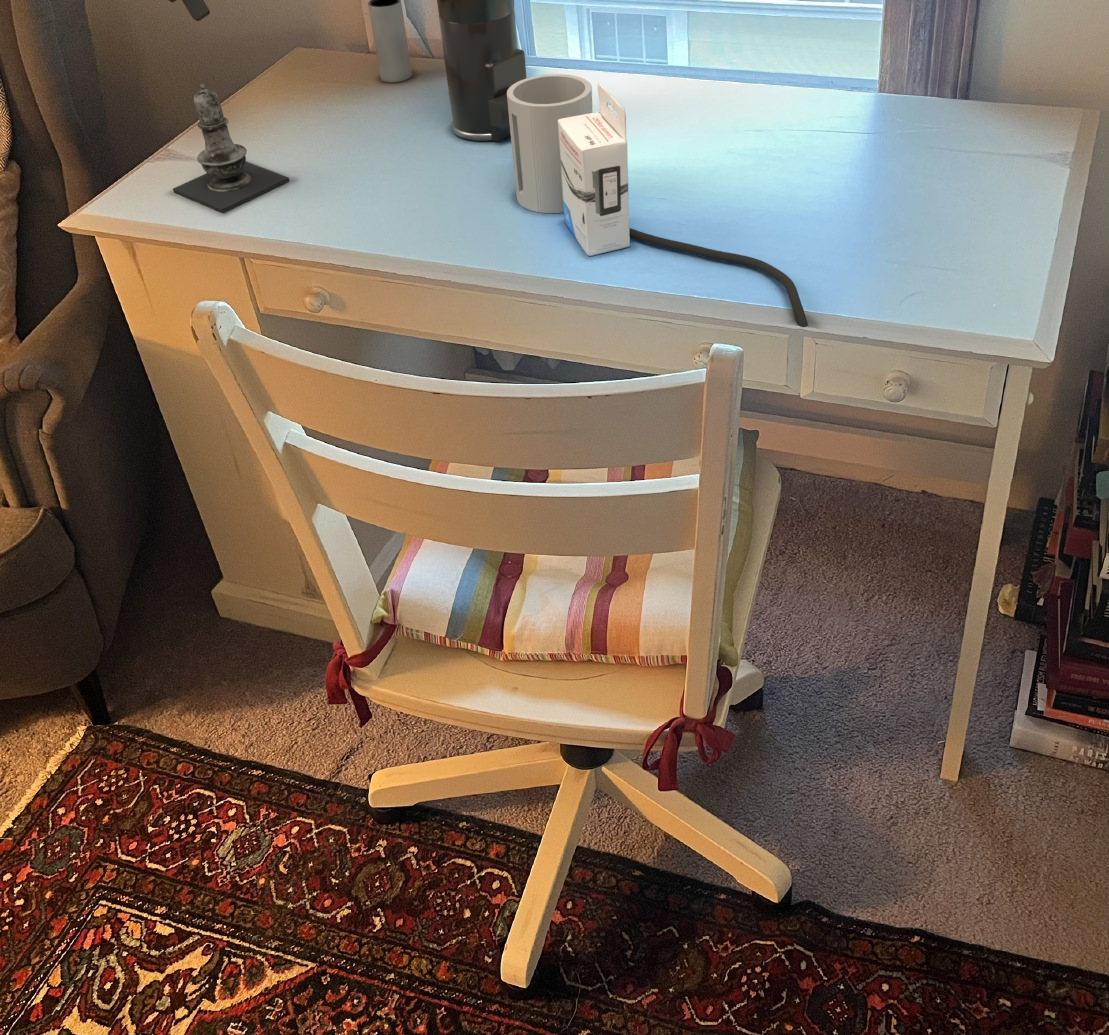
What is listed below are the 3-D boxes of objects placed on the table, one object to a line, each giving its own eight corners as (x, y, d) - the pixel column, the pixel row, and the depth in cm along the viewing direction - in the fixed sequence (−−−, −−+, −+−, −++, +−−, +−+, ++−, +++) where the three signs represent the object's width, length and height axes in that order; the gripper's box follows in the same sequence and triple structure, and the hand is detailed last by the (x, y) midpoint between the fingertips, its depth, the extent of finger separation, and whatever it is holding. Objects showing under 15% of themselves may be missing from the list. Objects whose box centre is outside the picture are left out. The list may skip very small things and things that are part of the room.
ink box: (562, 223, 120) (553, 89, 110) (604, 213, 121) (599, 80, 111) (587, 258, 114) (580, 119, 104) (632, 248, 114) (629, 109, 105)
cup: (610, 185, 126) (606, 81, 118) (569, 219, 120) (562, 111, 112) (544, 171, 130) (536, 69, 122) (501, 203, 124) (490, 98, 116)
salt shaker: (236, 167, 135) (209, 69, 127) (263, 179, 132) (237, 80, 124) (195, 185, 132) (165, 85, 124) (223, 197, 129) (193, 96, 121)
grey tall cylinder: (404, 83, 154) (392, 7, 147) (375, 81, 155) (362, 5, 148) (417, 72, 157) (406, -4, 150) (388, 70, 158) (376, -5, 151)
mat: (289, 181, 132) (288, 177, 132) (223, 213, 127) (221, 209, 127) (239, 162, 138) (238, 158, 137) (173, 192, 132) (172, 188, 132)
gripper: (113, -166, 118) (197, -27, 121) (162, -117, 132) (235, 6, 135) (57, -128, 119) (141, 9, 122) (111, -83, 133) (185, 39, 136)
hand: (191, 7), depth 128 cm, fingers open, 8 cm apart
